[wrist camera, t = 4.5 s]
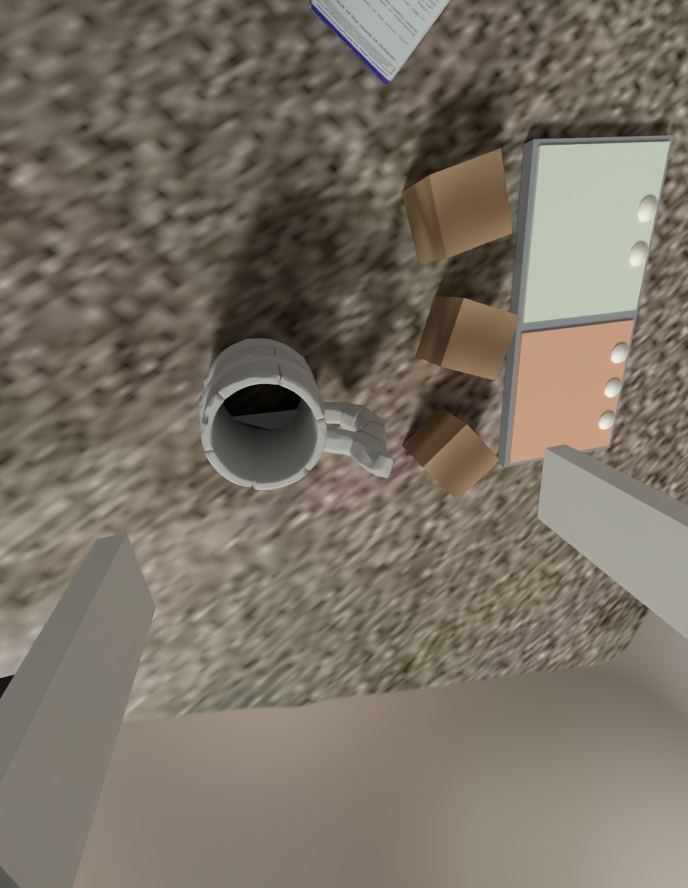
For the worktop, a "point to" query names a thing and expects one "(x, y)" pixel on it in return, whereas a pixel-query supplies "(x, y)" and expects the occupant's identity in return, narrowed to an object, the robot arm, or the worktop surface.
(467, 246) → the walnut block
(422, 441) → the walnut block
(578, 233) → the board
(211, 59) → the worktop surface
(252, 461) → the mug
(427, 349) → the walnut block
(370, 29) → the supplement box
